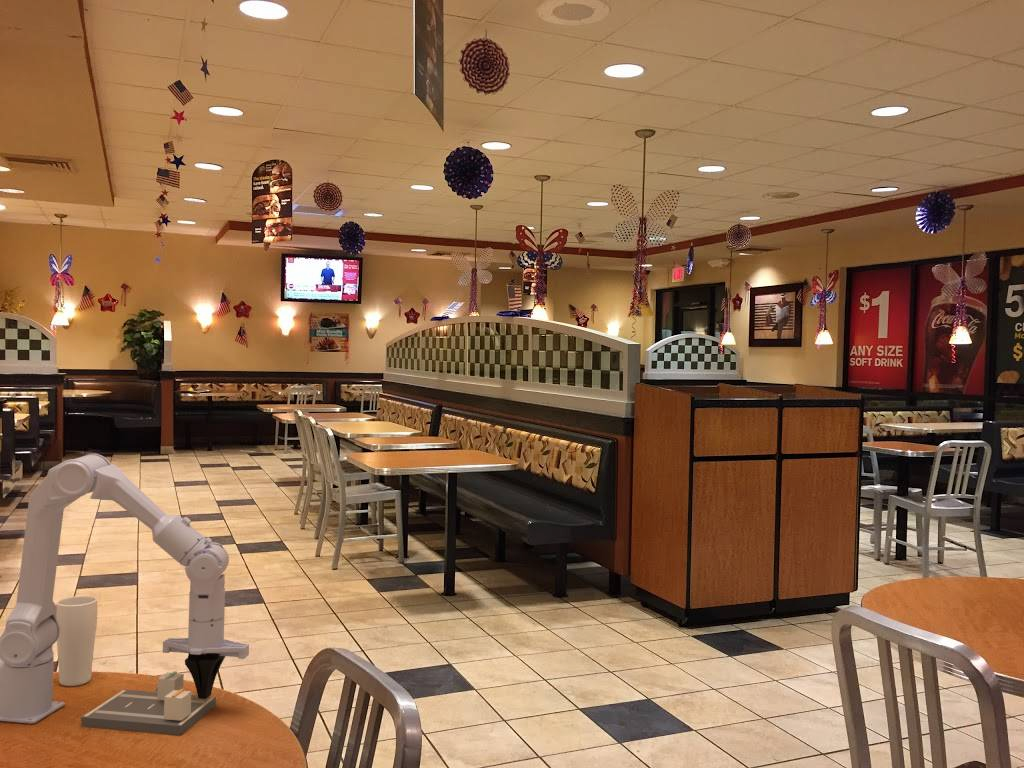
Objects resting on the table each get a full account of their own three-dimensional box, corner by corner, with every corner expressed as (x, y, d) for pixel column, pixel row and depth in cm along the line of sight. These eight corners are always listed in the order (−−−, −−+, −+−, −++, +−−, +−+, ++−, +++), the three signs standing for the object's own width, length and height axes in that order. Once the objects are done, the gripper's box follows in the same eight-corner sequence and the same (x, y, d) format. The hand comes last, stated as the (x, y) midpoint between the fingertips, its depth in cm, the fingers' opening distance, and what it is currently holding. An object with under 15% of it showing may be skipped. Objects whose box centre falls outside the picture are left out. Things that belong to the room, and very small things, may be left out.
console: (81, 726, 138) (81, 716, 138) (123, 697, 149) (123, 689, 149) (180, 735, 136) (180, 725, 135) (215, 705, 147) (216, 696, 147)
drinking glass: (78, 690, 152) (80, 607, 152) (45, 686, 153) (47, 603, 153) (104, 677, 159) (105, 597, 158) (72, 673, 160) (73, 594, 160)
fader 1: (157, 699, 144) (158, 676, 144) (166, 693, 147) (167, 670, 147) (174, 701, 144) (174, 678, 144) (183, 694, 147) (183, 672, 147)
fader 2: (163, 719, 137) (164, 695, 137) (173, 711, 140) (173, 688, 140) (181, 720, 137) (182, 696, 136) (190, 713, 140) (191, 689, 139)
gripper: (153, 621, 142) (151, 702, 142) (237, 627, 140) (234, 709, 140) (175, 609, 149) (173, 686, 149) (255, 614, 147) (253, 693, 147)
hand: (204, 696), depth 145 cm, fingers closed
